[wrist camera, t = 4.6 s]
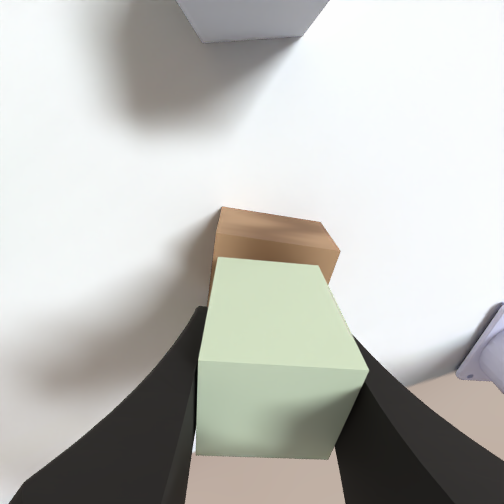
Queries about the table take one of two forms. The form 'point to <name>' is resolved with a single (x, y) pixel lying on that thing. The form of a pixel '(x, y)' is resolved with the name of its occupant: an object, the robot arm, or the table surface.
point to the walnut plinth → (273, 240)
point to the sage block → (274, 363)
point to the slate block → (250, 18)
